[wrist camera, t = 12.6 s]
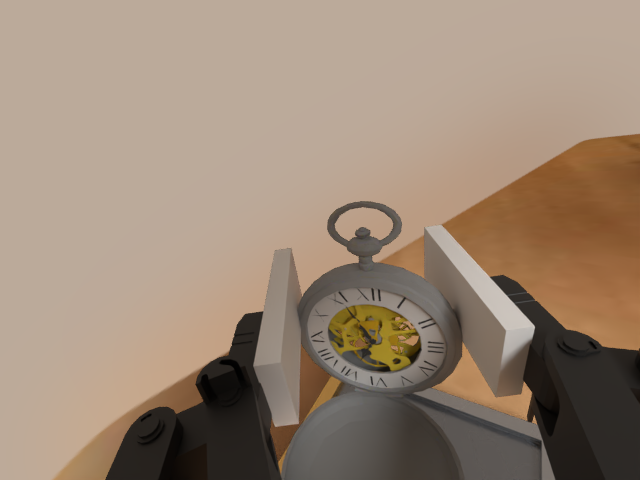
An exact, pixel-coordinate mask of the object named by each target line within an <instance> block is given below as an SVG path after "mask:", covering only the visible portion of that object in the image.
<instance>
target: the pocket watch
mask: <svg viewBox="0 0 640 480" xmlns="http://www.w3.org/2000/svg"><path fill="white" fill-rule="evenodd" d="M361 207H366V208H374V209H378V210H380V211H382V212H384V213H385V214H386V215H388V216H389V217H390V218H391V219H392V221H393V229H392V231H391V233H390V234H389V236H387V237H386V238H384V239H383V240H378V239H377V238H374V237H371V236H369V235H370V230H368V229H366V228H364V227H361V228H359V230H356V232H355V235H356V236H357V237H354V238H352V239H351V240H350V241H347V240H346V239H344V238H342V237H341V236H340V235H339V234H338V233H337V231H336V230H335V225H334V224H335V223H336V221H337V219H338V218H339V216H340V215H341V214H343V213H344V212H346V211H348V210H350V209H354V208H361ZM401 226H402V222H401V219H400V217H399V216H398V214H397V213H396V212H395V211H394V210H392V209H391V208H389V207H387V206H386V205H383V204H379V203H374V202H365V201H361V202H354V203H350V204H347V205H345V206H343V207H341V208H338V209H336V210H335V211H334V212H333V213H332V214H331V216H330V217H329V219H328V226H327V229H328V232H329V234H330V236H331V237H332V238H333V239H334V240H335V241H337V242H339V243H340V244H342V245H344V246H346V247H347V250H348V251H349V252H351V253H352V254H354V255H356V256H359V263H353V264H347V265H344V266H340V267H337V268H334V269H332V270H331V271H329V272H327V273H325V274H323V275H322V276H321V277H320V278H319V279H317V280H316V281H314V282H313V284H312V285H311V286H310V287H309V288H308V289H307V291H306V292H305V293H304V295H303V297H302V298H301V300H300V303H299V306H298V309H297V311H298V316H299V321H300V327H301V344H302V346H303V348H304V349H305V350H306V352H307V353H308V355H309V356H310V357H311V359H312V360H313V361H314V362H315V363H316V364H317V365H318V366H320V367H321V368H322V369H323V370H325V371H326V372H327V373H328V374H330V375H331V376H332V377H334V378H336V379H338V380H340V381H342V382H344V383H345V384H347V385H350V386H353V387H355V392H349V393H346V394H343V395H340V396H337V397H334V398H332V399H330V400H328V401H326V402H325V403H323V404H322V405H320V406H319V407H318V408H316V409H315V410H314V411H313V412H312V413H310V414H309V415H308V417H307V418H306V419H305V420H304V422H303V423H302V424H301V426H300V427H299V428H298V429H297V431H296V432H295V434H294V436H293V438H292V440H291V442H290V444H289V447H288V449H287V452H286V455H285V458H284V460H283V465H282V471H281V478H282V480H465V478H464V474H463V470H462V466H461V462H460V460H459V457H458V455H457V453H456V451H455V448H454V447H453V445H452V444H451V442H450V441H449V439H448V437H447V436H446V434H445V433H444V431H443V430H442V428H441V427H440V426H439V425H438V424H437V423H436V422H435V421H434V420H433V419H432V418H431V417H430V416H429V415H428V414H427V413H426V412H425V411H423V410H422V409H420V408H419V407H417V406H415V405H414V404H412V403H410V402H409V401H407V400H405V399H403V396H404V394H410V393H415V392H421V391H424V390H426V389H429V388H431V387H433V386H435V385H437V384H440V383H441V382H443V381H444V380H445V379H446V378H447V377H448V376H449V375H450V374H452V373H453V371H454V369H455V368H456V366H457V364H458V362H459V360H460V359H461V357H462V334H461V330H460V326H459V322H458V319H457V315H456V313H455V312H454V310H453V309H452V307H451V305H450V303H449V302H448V301H447V299H446V298H445V297H444V296H443V295H442V293H441V292H440V291H439V290H438V289H437V288H436V287H434V286H433V285H432V284H430V283H429V282H428V281H426V280H425V279H424V278H422V277H421V276H418V275H416V274H414V273H412V272H410V271H408V270H406V269H404V268H401V267H396V266H392V265H388V264H383V263H374V262H373V261H372V256H373V255H375V254H377V253H379V252H380V250H381V249H382V246H384V245H387V244H389V243H391V242H392V241H393V240H394V239H396V238H397V237H398V235H399V234H400V232H401ZM402 316H403V317H402ZM395 317H400V318H401V319H400V320H399V321H395ZM405 321H409V322H411V325H412V326H414V327H415V328H414V329H412V328H411V329H410V328H409V326H408V325H406V323H405V324H404V323H403V322H405ZM397 323H400V325H399V324H397ZM401 324H404V325H405V326H403V327H402V328H401V329H400V328H399V327H400V326H401ZM406 327H408V328H409V330H403V329H405V328H406ZM380 328H381V330H380ZM337 330H338V331H340V332H342V335H341V334H340V333H339V332H338V331H337ZM347 336H353V337H347ZM398 336H404V337H405V338H407V339H409V338H411V336H419V339H418V341H417V343H416V344H415V345H414V346H411V345H408V344H405V343H401V342H399V341H406V340H407V339H404V340H399V339H398ZM408 336H409V337H408ZM363 337H365V338H366V339H365V340H366V341H367V342H369V343H367V342H366V341H365V340H364V338H363ZM359 338H361V339H362V341H363V342H365V343H366V344H368V345H366V346H363V347H355V342H356V340H357V339H359ZM351 341H353V346H352V345H351V344H350V343H349V342H351ZM392 345H395V346H397V347H398V351H396V350H393V349H391V346H392ZM399 346H400V347H403V348H404V349H403V350H402V353H401V350H400V347H399ZM360 349H361V350H360Z"/></svg>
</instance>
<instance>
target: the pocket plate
mask: <svg viewBox="0 0 640 480" xmlns="http://www.w3.org/2000/svg"><path fill="white" fill-rule="evenodd" d="M349 392H355V387H353V386H350V385H347V384H345V383H344V382H342V381H340V380H338V379H336V378H334V377H332V376H331V377H330V379H329V381H328V382H327V384H326V385H325V387H324V389H323V390H322V392H321V394H320V395H319V397H318V398H317V400H316V402H315V403H314V405H313V407H312V408H311V410H310V412H309V413H308V415H309V414H310V413H312V412H313V411H314V410H315V409H316V408H318V407H319V406H320V405H322V404H323V403H325V402H326V401H328V400H330V399H332V398H334V397H337V396H340V395H343V394H346V393H349ZM403 399H405V400H407V401H409V402H410V403H412V404H414V405H415V406H417V407H419V408H420V409H422V410H423V411H425V412H426V413H427V414H428V415H429V416H430V417H431V418H432V419H433V420H434V421H435V422H436V423H437V424H438V425H439V426H440V427H441V428H442V430H443V431H444V433H445V434H446V436H447V437H448V439H449V441H450V442H451V444H452V445H453V447H454V448H455V451H456V453H457V455H458V457H459V460H460V462H461V466H462V470H463V474H464V478H465V480H555V477H554V474H553V471H552V468H551V465H550V462H549V459H548V456H547V452H546V449H545V446H544V443H543V440H542V437H541V434H540V431H539V428H538V425H536V424H534V423H531V422H528V421H525V420H522V419H519V418H516V417H513V416H510V415H508V414H505V413H502V412H499V411H496V410H493V409H490V408H487V407H485V406H482V405H479V404H476V403H473V402H470V401H467V400H464V399H461V398H459V397H456V396H453V395H450V394H447V393H444V392H441V391H438V390H436V389H433V388H429V389H426V390H424V391H421V392H415V393H410V394H404V396H403ZM308 415H307V416H306V418H307V417H308ZM306 418H305V419H306ZM303 422H304V421H303ZM288 447H289V446H288ZM288 447H287V449H288ZM287 449H286V451H285V452H284V454H283V456H282V457H281V459H280V460H279V462H278V465H279V470H280V474H281V471H282V465H283V460H284V458H285V455H286V452H287Z"/></svg>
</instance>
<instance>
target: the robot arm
mask: <svg viewBox="0 0 640 480" xmlns="http://www.w3.org/2000/svg"><path fill="white" fill-rule="evenodd" d="M424 275H425V279H426V280H427V281H428V282H429V283H430V284H432V285H433V286H434V287H436V288H437V289H438V290H439V291H440V292H441V293H442V295H443V296H444V297H445V298H446V299H447V301H448V302H449V303H450V305H451V307H452V309H453V310H454V312H455V313H456V315H457V319H458V322H459V326H460V330H461V334H462V341H463V343H464V344H465V346H466V348H467V349H468V351H469V353H470V355H471V356H472V358H473V360H474V361H475V363H476V365H477V366H478V368H479V370H480V371H481V373H482V375H483V376H484V378H485V380H486V381H487V383H488V385H489V387H490V388H491V390H492V392H493V393H494V395H495V397H502V396H510V395H517V394H521V392H522V387H523V382H525V383H526V384H527V386H528V387H529V389H530V390H531V391H532V397H531V401H530V405H529V410H528V414H527V419H528V422H531V423H532V421H533V417H534V415H535V418H536V421H537V424H538V428H539V431H540V434H541V437H542V440H543V443H544V446H545V449H546V452H547V456H548V459H549V462H550V465H551V468H552V471H553V474H554V477H555V480H640V349H639V351H637V350H627V349H617V348H608V347H602V346H601V345H600V344H599V342H597V341H596V340H594V339H593V338H591V337H589V336H588V335H585V334H582V333H580V332H577V331H572V330H566V329H565V328H564V327H563V326H562V325H561V324H560V323H559V322H558V321H557V320H556V319H555V318H554V317H553V316H552V315H551V314H550V313H549V312H548V311H546V310H545V309H544V308H543V307H542V306H541V305H540V304H539V303H538V302H537V301H535V299H534V298H533V297H532V296H531V295H530V294H529V293H527V291H526V290H525V289H524V288H523V287H522V286H521V285H520V284H519V283H517V282H516V281H514V280H512V279H510V278H508V277H506V276H504V275H500V276H493V277H489V276H488V275H487V274H486V273H485V272H484V271H483V269H482V268H481V267H480V266H479V265H478V264H477V263H476V262H475V261H474V260H473V259H472V258H471V256H470V255H469V254H468V253H467V252H466V251H465V250H464V249H463V248H462V247H461V246H460V245H459V243H458V242H457V241H456V240H455V239H454V238H453V237H452V236H451V235H450V234H449V233H448V232H447V230H446V229H445V228H444V227H443V226H442V225H436V226H430V227H424ZM301 298H302V294H301V290H300V285H299V281H298V276H297V272H296V267H295V264H294V259H293V254H292V250H291V248H287V249H281V250H275V253H274V258H273V263H272V269H271V274H270V280H269V285H268V291H267V296H266V301H265V306H264V311H263V312H256V313H249V314H245V315H244V316H243V318H242V319H241V320H240V321H239V323H238V324H237V327H236V331H235V334H234V338H233V341H232V346H231V348H230V352H229V355H228V356H224V357H219V358H217V359H215V360H213V361H211V362H210V363H209V364H208V365H206V366H205V367H204V368H203V369H202V371H201V372H200V374H199V375H198V377H197V381H196V386H197V388H198V390H199V393H200V395H201V397H202V399H203V402H202V403H200V404H198V405H196V406H194V407H191V408H189V409H187V410H185V411H182V412H180V413H178V414H176V413H175V412H174V410H173V409H171V408H169V407H158V408H155V409H152V410H149V411H148V412H146V413H145V414H143V415H142V416H140V417H139V418H138V419H137V420H136V421H135V422H134V423H133V424H132V425H131V427H130V428H129V430H128V431H127V433H126V435H125V437H124V439H123V441H122V443H121V446H120V448H119V450H118V452H117V455H116V457H115V459H114V461H113V464H112V466H111V468H110V470H109V472H108V475H107V477H106V479H105V480H282V478H281V474H280V470H279V465H278V461H277V456H276V452H275V447H274V443H273V439H272V436H271V434H270V427H271V418H272V420H273V423H274V425H275V427H278V426H286V425H293V424H299V396H300V353H301V327H300V321H299V316H298V311H297V309H298V306H299V303H300V300H301Z"/></svg>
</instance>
